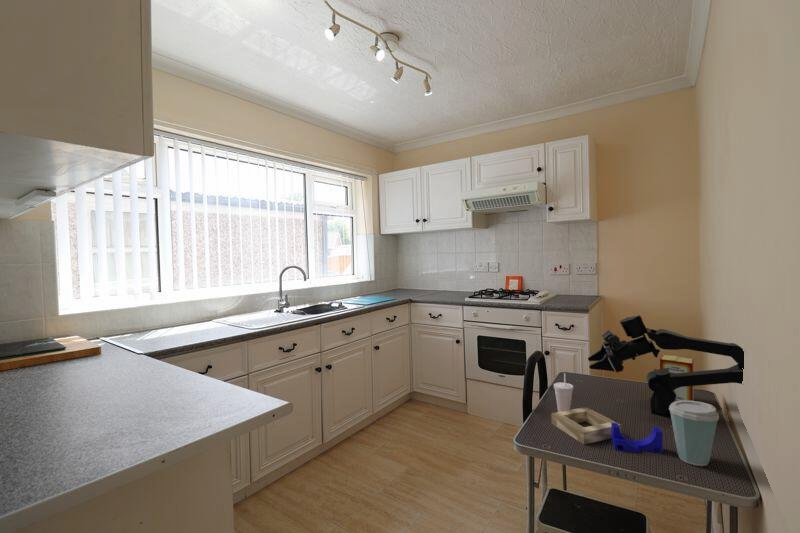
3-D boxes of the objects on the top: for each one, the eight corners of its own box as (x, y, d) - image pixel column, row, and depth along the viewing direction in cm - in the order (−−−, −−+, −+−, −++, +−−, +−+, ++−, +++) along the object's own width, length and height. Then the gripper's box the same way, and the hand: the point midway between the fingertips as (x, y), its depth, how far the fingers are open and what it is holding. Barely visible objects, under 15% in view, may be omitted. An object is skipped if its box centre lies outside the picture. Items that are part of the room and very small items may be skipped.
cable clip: (614, 450, 107) (614, 429, 107) (611, 442, 111) (611, 422, 111) (664, 456, 103) (664, 435, 103) (658, 448, 107) (658, 427, 107)
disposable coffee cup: (670, 464, 99) (670, 408, 99) (667, 445, 108) (667, 394, 108) (722, 475, 94) (723, 416, 93) (714, 455, 103) (714, 401, 102)
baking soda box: (693, 401, 138) (693, 358, 137) (692, 407, 133) (692, 362, 132) (662, 395, 144) (662, 354, 144) (660, 400, 139) (660, 358, 139)
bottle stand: (586, 417, 128) (586, 406, 128) (621, 436, 114) (621, 424, 114) (551, 423, 124) (551, 413, 124) (583, 444, 110) (583, 432, 110)
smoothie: (568, 418, 127) (568, 377, 127) (550, 412, 132) (550, 373, 132) (577, 412, 132) (576, 373, 131) (559, 407, 136) (558, 369, 136)
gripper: (618, 322, 142) (577, 336, 148) (626, 334, 124) (579, 350, 131) (633, 349, 140) (591, 363, 146) (643, 365, 123) (594, 380, 129)
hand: (588, 363), depth 138 cm, fingers open, 9 cm apart
